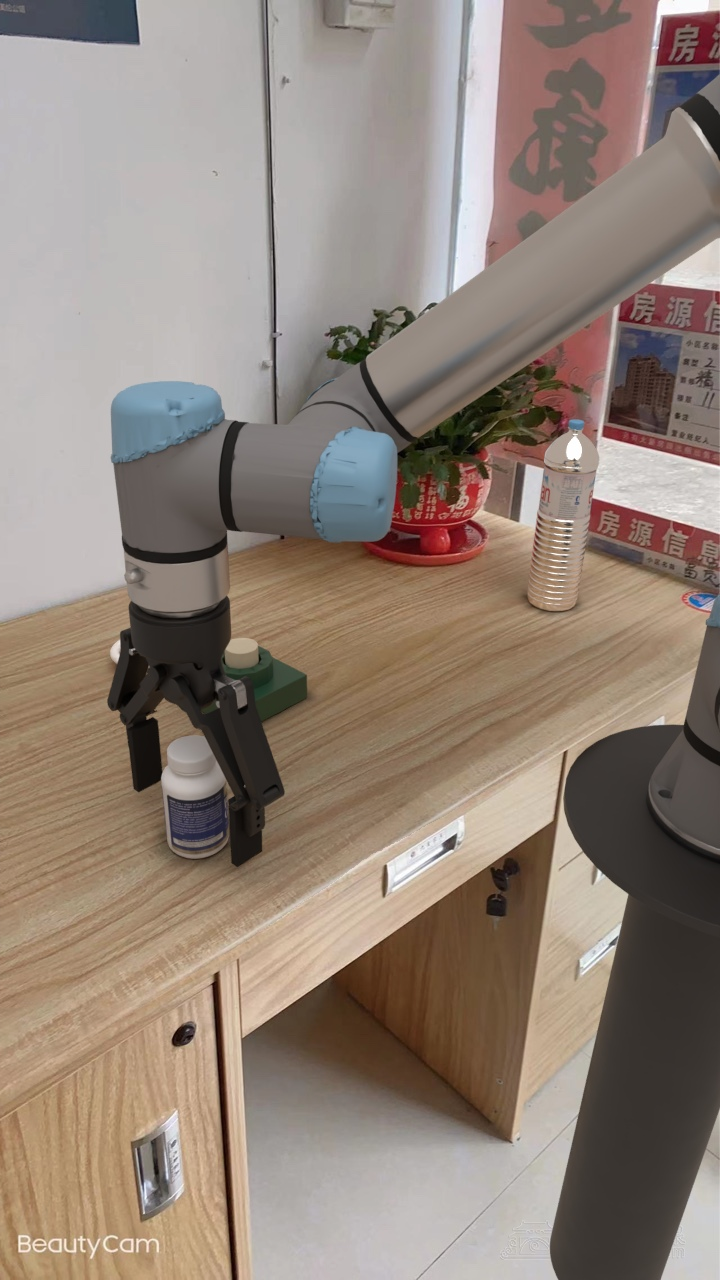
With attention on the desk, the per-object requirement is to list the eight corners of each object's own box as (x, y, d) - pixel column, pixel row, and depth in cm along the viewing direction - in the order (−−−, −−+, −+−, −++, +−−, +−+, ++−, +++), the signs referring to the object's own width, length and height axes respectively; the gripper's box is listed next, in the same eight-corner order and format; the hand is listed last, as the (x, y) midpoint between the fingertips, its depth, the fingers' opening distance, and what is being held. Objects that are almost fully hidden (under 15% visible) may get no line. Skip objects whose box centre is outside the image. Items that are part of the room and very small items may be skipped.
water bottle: (567, 617, 117) (595, 431, 106) (518, 605, 120) (541, 422, 108) (582, 598, 123) (611, 419, 111) (536, 587, 126) (559, 411, 114)
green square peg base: (307, 697, 98) (307, 658, 96) (238, 734, 92) (236, 693, 89) (248, 666, 104) (246, 628, 102) (179, 697, 98) (176, 658, 95)
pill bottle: (240, 845, 77) (236, 753, 72) (183, 869, 74) (175, 775, 69) (212, 812, 81) (206, 722, 76) (157, 833, 78) (147, 742, 73)
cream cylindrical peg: (265, 661, 96) (265, 645, 95) (240, 673, 93) (239, 657, 92) (243, 650, 98) (243, 634, 97) (218, 661, 96) (217, 645, 95)
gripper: (46, 562, 71) (77, 774, 81) (251, 676, 56) (258, 918, 66) (125, 538, 76) (146, 741, 86) (333, 637, 61) (328, 868, 71)
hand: (195, 819), depth 76 cm, fingers open, 13 cm apart
